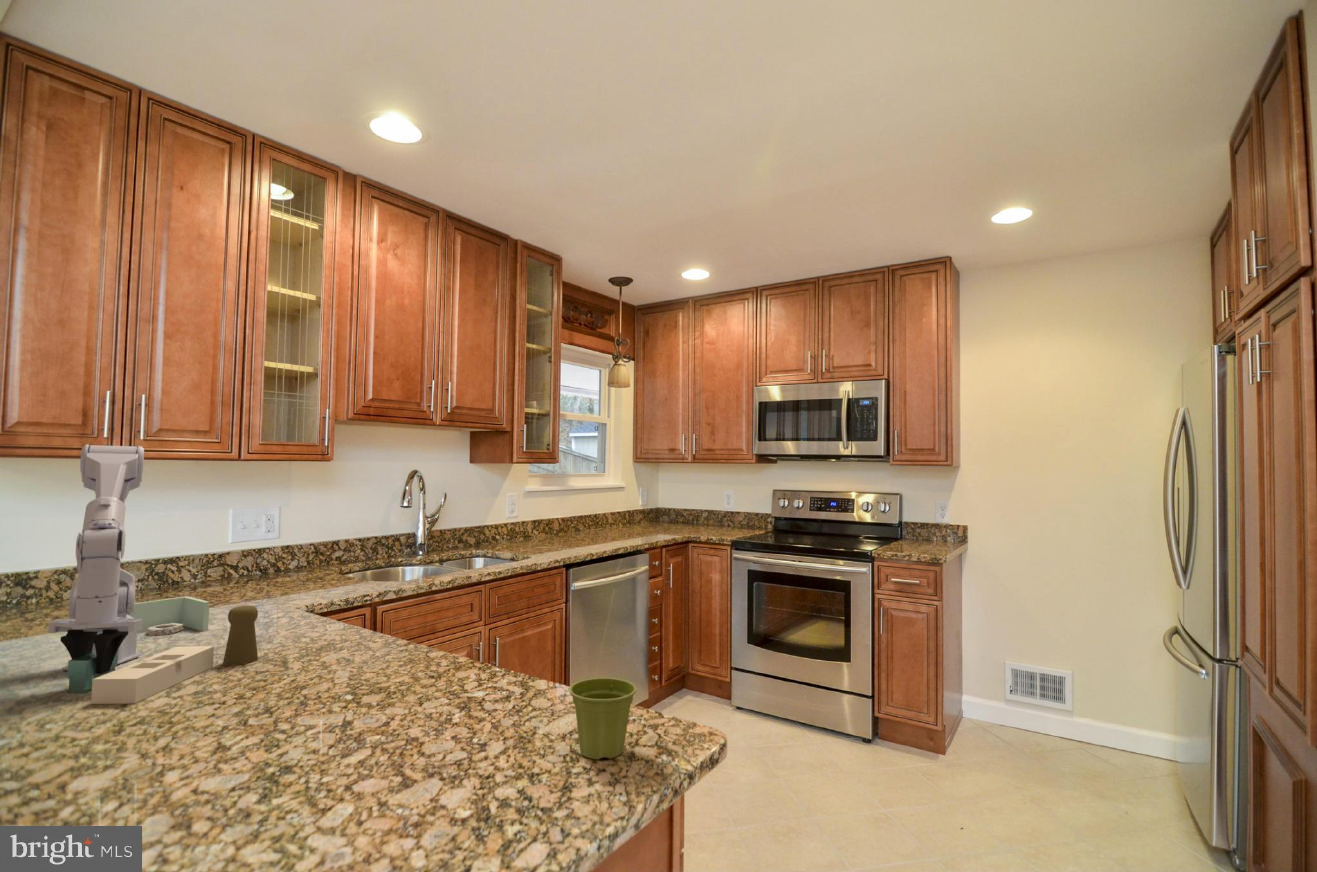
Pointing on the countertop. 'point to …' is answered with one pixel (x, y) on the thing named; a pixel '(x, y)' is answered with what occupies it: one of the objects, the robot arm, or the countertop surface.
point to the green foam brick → (85, 672)
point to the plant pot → (602, 715)
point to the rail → (151, 675)
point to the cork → (241, 636)
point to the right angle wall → (172, 615)
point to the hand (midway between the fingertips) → (92, 672)
